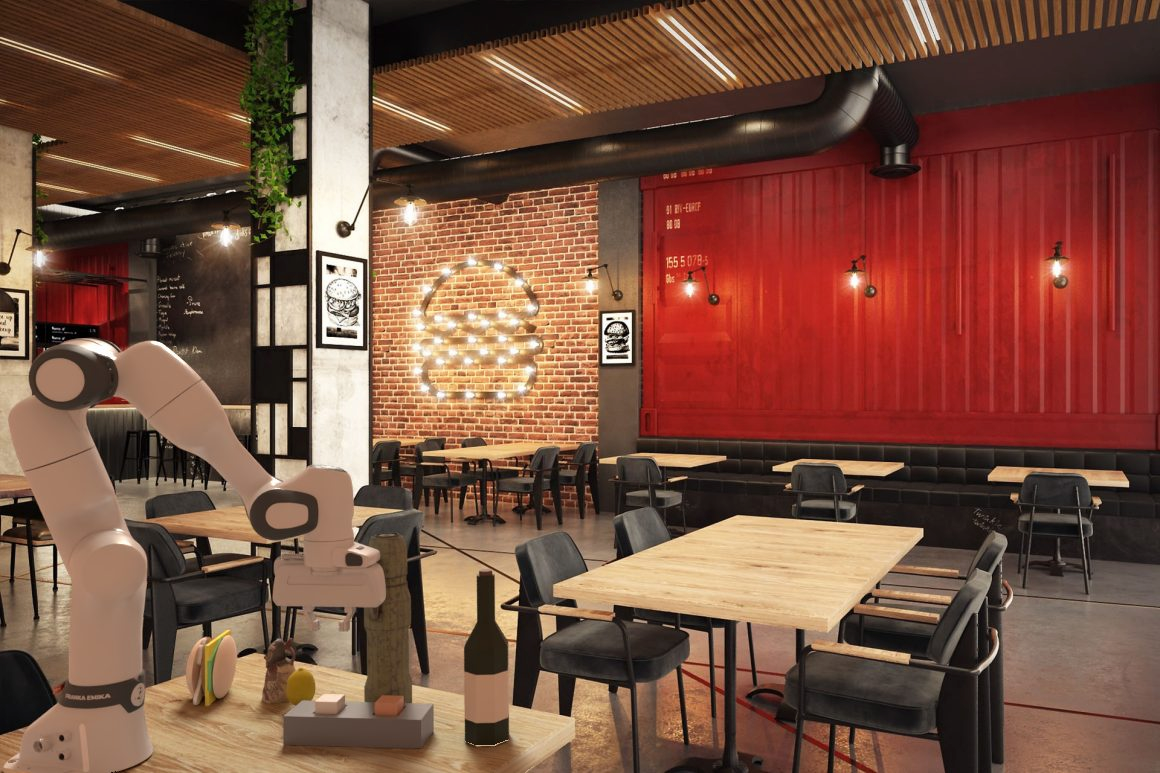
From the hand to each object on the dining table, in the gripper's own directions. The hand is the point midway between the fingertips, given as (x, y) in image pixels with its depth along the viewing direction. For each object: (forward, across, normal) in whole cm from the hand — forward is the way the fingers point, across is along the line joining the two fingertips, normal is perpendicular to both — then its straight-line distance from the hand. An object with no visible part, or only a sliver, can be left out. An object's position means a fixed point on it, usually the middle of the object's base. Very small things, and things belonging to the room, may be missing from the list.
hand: (329, 630), depth 156 cm
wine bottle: (+19, +28, +2) cm, 34 cm away
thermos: (+19, +8, +10) cm, 23 cm away
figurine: (+19, -18, +20) cm, 33 cm away
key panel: (+19, +6, 0) cm, 20 cm away
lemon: (+19, -12, +14) cm, 26 cm away
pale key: (+16, 0, 0) cm, 16 cm away
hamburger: (+19, -34, +19) cm, 43 cm away
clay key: (+16, +11, 0) cm, 19 cm away
